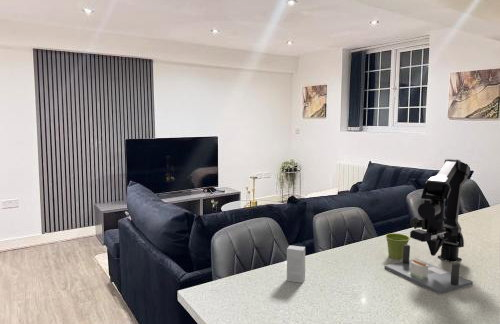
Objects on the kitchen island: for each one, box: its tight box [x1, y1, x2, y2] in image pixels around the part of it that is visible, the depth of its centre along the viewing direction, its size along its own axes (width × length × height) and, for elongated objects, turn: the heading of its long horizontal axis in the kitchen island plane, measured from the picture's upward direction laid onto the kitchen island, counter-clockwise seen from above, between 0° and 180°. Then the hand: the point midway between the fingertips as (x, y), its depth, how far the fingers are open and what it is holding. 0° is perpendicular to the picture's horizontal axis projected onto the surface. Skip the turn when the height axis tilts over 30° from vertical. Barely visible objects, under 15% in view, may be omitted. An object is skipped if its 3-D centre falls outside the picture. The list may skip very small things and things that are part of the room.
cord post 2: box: [450, 262, 461, 285], centre depth 131 cm, size 2×2×7 cm
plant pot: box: [385, 232, 410, 260], centre depth 159 cm, size 9×9×9 cm
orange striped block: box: [410, 258, 428, 278], centre depth 138 cm, size 3×5×5 cm, turn 25°
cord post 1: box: [402, 244, 411, 264], centre depth 150 cm, size 2×2×7 cm
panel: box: [384, 258, 474, 295], centre depth 140 cm, size 17×24×1 cm
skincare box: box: [286, 245, 306, 284], centre depth 137 cm, size 6×4×12 cm
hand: (433, 255), depth 141 cm, fingers closed
